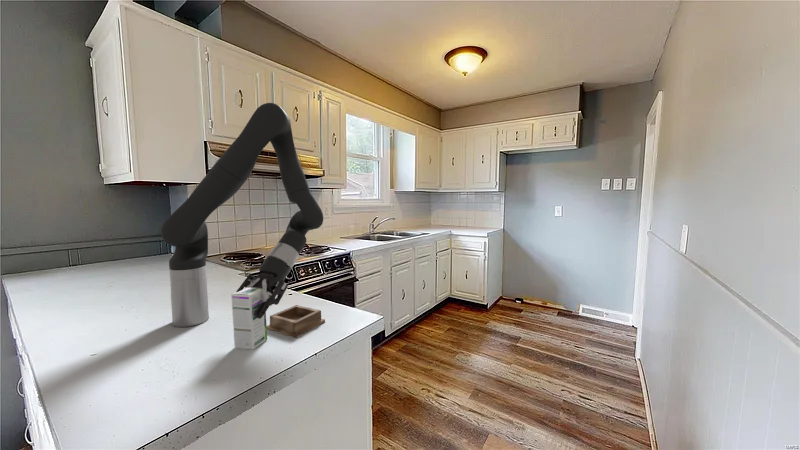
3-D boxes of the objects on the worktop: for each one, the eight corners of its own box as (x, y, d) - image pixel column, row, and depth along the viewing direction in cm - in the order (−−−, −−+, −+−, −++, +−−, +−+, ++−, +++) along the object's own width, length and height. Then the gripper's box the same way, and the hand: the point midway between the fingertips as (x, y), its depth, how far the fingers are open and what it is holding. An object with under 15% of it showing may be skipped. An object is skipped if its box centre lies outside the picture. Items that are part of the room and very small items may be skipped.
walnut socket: (265, 328, 89) (265, 316, 89) (296, 314, 100) (296, 303, 100) (295, 337, 84) (295, 324, 84) (325, 321, 95) (324, 310, 94)
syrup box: (253, 350, 77) (251, 294, 76) (233, 347, 78) (230, 293, 77) (267, 339, 83) (265, 288, 81) (248, 337, 84) (246, 286, 83)
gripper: (254, 252, 88) (217, 302, 79) (290, 257, 82) (254, 312, 73) (270, 266, 94) (237, 315, 84) (305, 272, 87) (273, 325, 78)
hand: (245, 314), depth 79 cm, fingers open, 8 cm apart
